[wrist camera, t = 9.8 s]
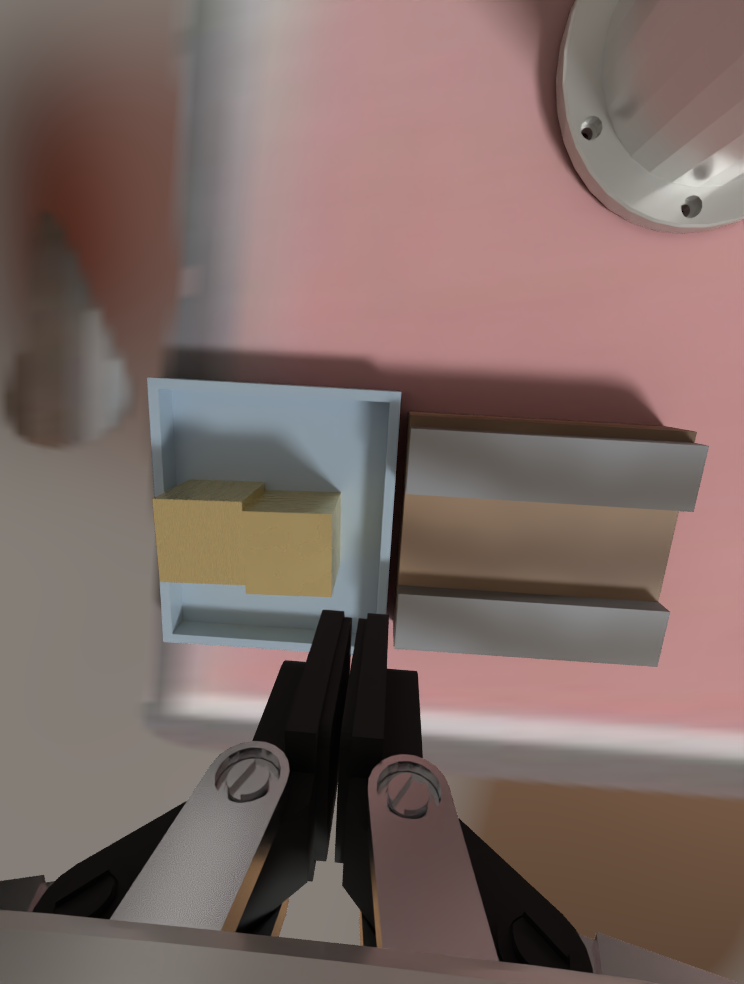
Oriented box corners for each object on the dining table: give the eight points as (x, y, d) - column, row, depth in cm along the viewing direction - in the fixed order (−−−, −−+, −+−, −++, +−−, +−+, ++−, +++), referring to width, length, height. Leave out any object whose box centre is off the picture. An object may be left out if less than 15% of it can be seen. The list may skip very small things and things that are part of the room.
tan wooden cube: (265, 481, 24) (189, 479, 24) (241, 501, 20) (152, 498, 20) (267, 553, 25) (194, 550, 25) (245, 585, 21) (159, 581, 21)
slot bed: (408, 411, 24) (412, 417, 20) (664, 426, 23) (711, 434, 20) (393, 621, 27) (394, 657, 23) (620, 637, 26) (655, 675, 23)
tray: (166, 377, 24) (146, 377, 22) (400, 391, 23) (401, 392, 22) (179, 622, 27) (163, 641, 25) (383, 636, 27) (383, 656, 25)
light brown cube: (265, 489, 24) (241, 511, 20) (341, 492, 24) (332, 514, 20) (267, 560, 25) (245, 593, 21) (340, 563, 25) (331, 597, 21)
